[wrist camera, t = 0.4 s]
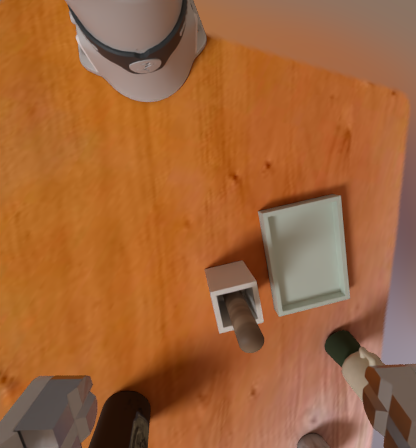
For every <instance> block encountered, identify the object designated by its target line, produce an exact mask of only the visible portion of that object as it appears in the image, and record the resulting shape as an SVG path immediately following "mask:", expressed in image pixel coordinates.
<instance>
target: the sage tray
mask: <svg viewBox="0 0 416 448" xmlns="http://www.w3.org/2000/svg"><path fill="white" fill-rule="evenodd" d="M258 214H259V219H260V225H261V231H262V237H263V243H264V249H265V255H266V261H267V267H268V273H269V279H270V285H271V291H272V297H273V303H274V309H275V311H276V312H277V314H278V315H279V317H280V316H284V315H287V314H291V313H295V312H299V311H303V310H307V309H311V308H315V307H319V306H323V305H327V304H331V303H335V302H339V301H342V300H346V299H350V293H349V282H348V270H347V259H346V248H345V237H344V226H343V215H342V203H341V196H340V195H335V194H331V195H326V196H322V197H318V198H313V199H309V200H305V201H300V202H296V203H292V204H287V205H283V206H278V207H274V208H270V209H265V210H261V211H258Z"/></svg>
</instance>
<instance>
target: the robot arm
mask: <svg viewBox="0 0 416 448" xmlns="http://www.w3.org/2000/svg"><path fill="white" fill-rule="evenodd" d="M65 1H66V3H67V4H68V7H69V9H70V11H69V14H70V18H71V21H72V23H73V24H76V29H77V35H76V40H77V42H78V48H79V57H80V61H81V63H82V65H83V66H84V68H86V69H87V70H88V71H90V72H92V73H94V74H97V75H99V76H102V77H103V78H104V79H105V80H106V81H107V82H108V83H109V84H110V85H111V86H112V87H113V88H115V89H116V90H117V91H118V92H120V93H121V94H123V95H124V96H126V97H128V98H131V99H133V100H137V101H142V102H154V101H159V100H162V99H165V98H167V97H169V96H171V95H172V94H174V93H175V92H176V91H177V90H178V89H179V88H180V87H181V86H182V85H183V83H184V82H185V80H186V79H187V77H188V75H189V72H190V69H191V67H192V64H193V61H194V59H195V58H196V57H197V56H198V55H199V54H200V53H201V51H202V50H203V49H204V47H205V46H206V34H205V31H204V28H203V25H202V23H201V20H200V17H199V15H198V12H197V9H196V6H195V4H194V1H193V0H65ZM197 30H198V33H197ZM365 378H366V380H367V381H368V384H367V385H366V386H365V387H364V388H363V395H362V400H363V404H364V409H365V412H366V414H367V417H368V419H369V421H370V423H371V425H372V427H373V428H374V429H375V430H376V431H378V432H379V433H380V434H382V435H383V436H384V448H416V364H405V365H403V364H402V365H401V364H399V365H377V366H368V367H367V368H366V370H365ZM92 385H93V384H92V381H91V377H90V376H86V375H79V376H38V377H37V378H35V379H34V380H33V381H32V382H31V383H30V385H29V386H28V387H27V388H26V390H25V391H24V392H23V393H22V395H21V396H20V397H19V399H18V400H17V401H16V402H15V404H14V405H13V406H12V407H11V409H10V410H9V411H8V413H7V414H6V415H5V416H4V418H3V419H2V420H1V421H0V448H82V446H81V442H82V441H84V440H85V439H86V438H87V437H88V436H89V435H90V433H91V431H92V429H93V426H94V424H95V420H96V415H97V400H96V396H95V395H94V394H92V393H91V392H90V389H91V387H92Z"/></svg>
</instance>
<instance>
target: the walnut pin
mask: <svg viewBox="0 0 416 448" xmlns="http://www.w3.org/2000/svg"><path fill="white" fill-rule="evenodd" d="M222 295H223V298H224V301H225V304H226V307H227V310H228V313H229V316H230V319H231V322H232V325H233V328H234V331H235V334H236V337H237V340H238V343H239V346H240V348H241V349H242V350H243V351H244V352H247V353H254V352H256V351H258V350H260V349H261V347H262V346H263V344H264V337H263V335H262V333H261V330H260V328H259V326H258V324H257V322H256V320H255V318H254V316H253V314H252V312H251V310H250V308H249V306H248V304H247V302H246V300H245V298H244V296H243V294H242V292H241V290H238V291H234V292H230V293H226V294H222Z"/></svg>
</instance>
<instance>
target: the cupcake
mask: <svg viewBox="0 0 416 448" xmlns="http://www.w3.org/2000/svg"><path fill="white" fill-rule="evenodd" d="M297 448H330V447H329V445H328V444H327V443H326V442H325V440H324V439H323V438H322V437H321V436H320V435H318V434H307V435H305V436H304V437H302V438H301V439H300V440H299V442H298V445H297Z"/></svg>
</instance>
